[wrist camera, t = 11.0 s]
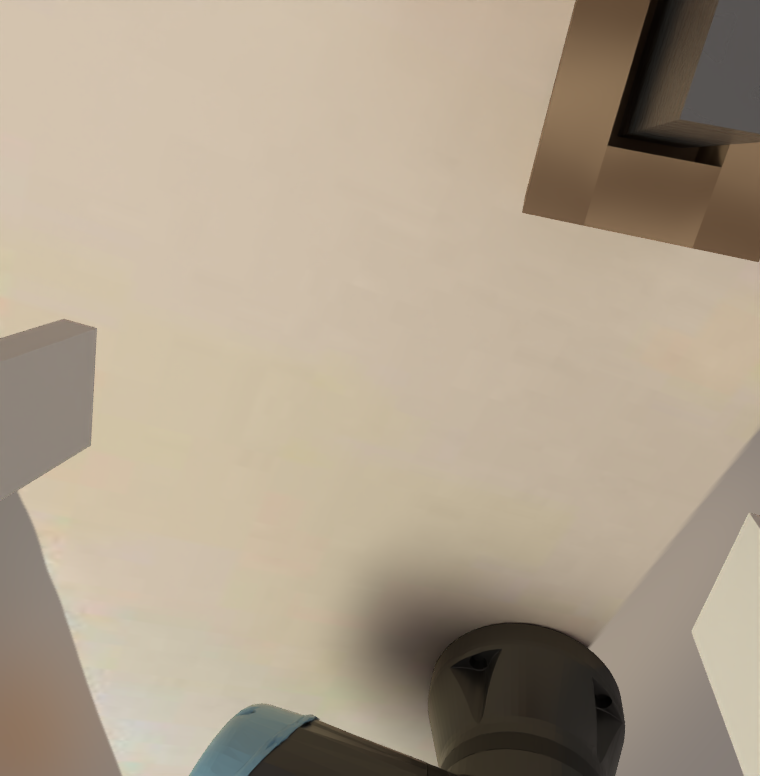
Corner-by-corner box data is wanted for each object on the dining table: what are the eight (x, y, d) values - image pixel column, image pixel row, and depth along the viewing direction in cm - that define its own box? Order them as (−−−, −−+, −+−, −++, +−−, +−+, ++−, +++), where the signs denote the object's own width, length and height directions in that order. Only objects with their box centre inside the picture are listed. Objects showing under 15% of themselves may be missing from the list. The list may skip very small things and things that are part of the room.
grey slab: (681, 148, 30) (792, 139, 17) (617, 136, 31) (679, 119, 18) (747, -48, 27) (941, -235, 14) (675, -58, 28) (801, -248, 15)
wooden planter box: (691, 231, 38) (758, 262, 27) (524, 197, 39) (522, 212, 28) (807, -90, 32) (956, -223, 21) (605, -116, 33) (643, -255, 22)
